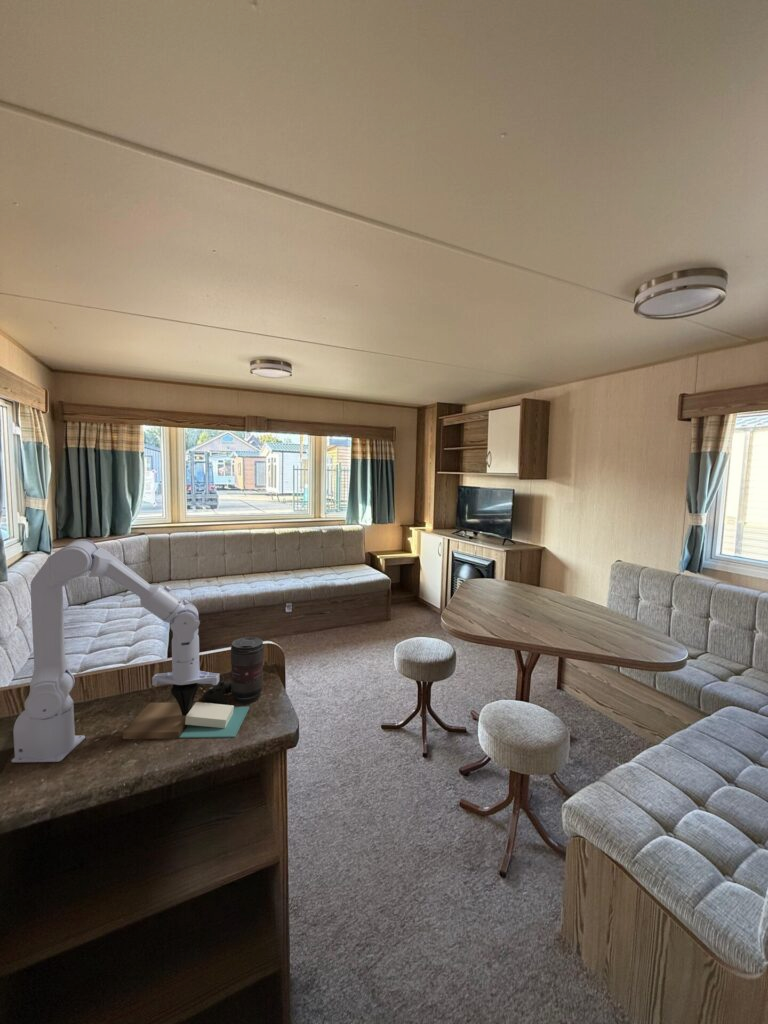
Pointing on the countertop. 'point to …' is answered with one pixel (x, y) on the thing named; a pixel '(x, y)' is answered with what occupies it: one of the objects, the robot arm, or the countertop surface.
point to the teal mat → (216, 732)
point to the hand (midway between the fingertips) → (186, 713)
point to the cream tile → (209, 715)
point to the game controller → (217, 693)
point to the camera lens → (247, 669)
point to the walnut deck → (157, 722)
